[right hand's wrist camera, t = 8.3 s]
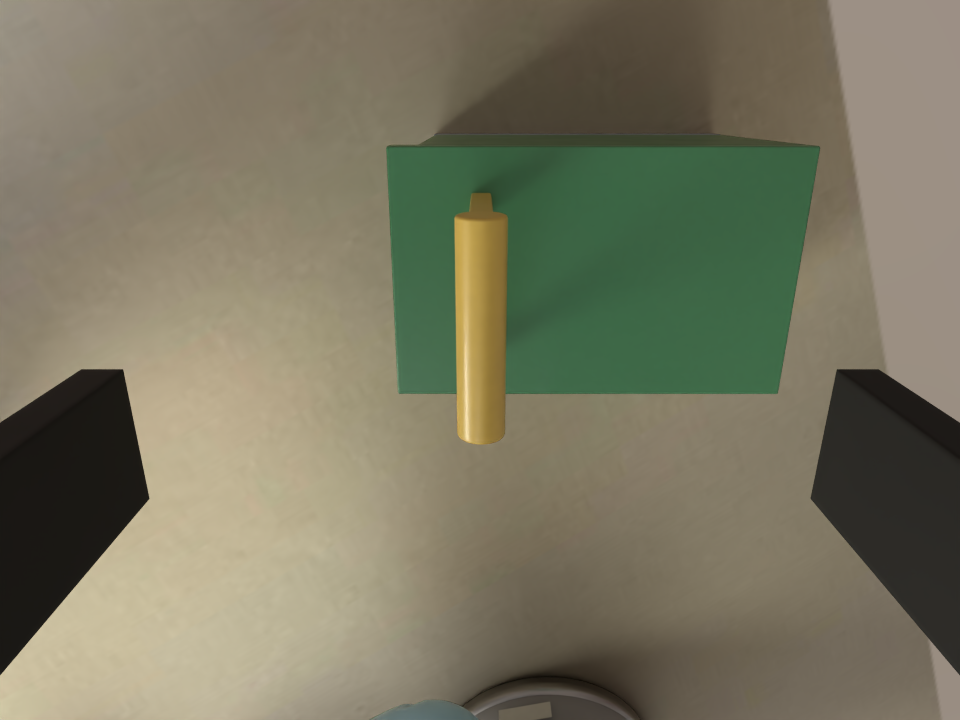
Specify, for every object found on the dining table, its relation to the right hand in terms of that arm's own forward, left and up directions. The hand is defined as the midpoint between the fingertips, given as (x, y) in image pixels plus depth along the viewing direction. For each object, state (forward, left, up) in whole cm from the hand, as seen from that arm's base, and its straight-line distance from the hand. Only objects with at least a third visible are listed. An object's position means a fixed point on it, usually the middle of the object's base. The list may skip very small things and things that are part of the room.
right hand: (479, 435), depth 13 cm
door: (+1, -4, -13) cm, 14 cm away
